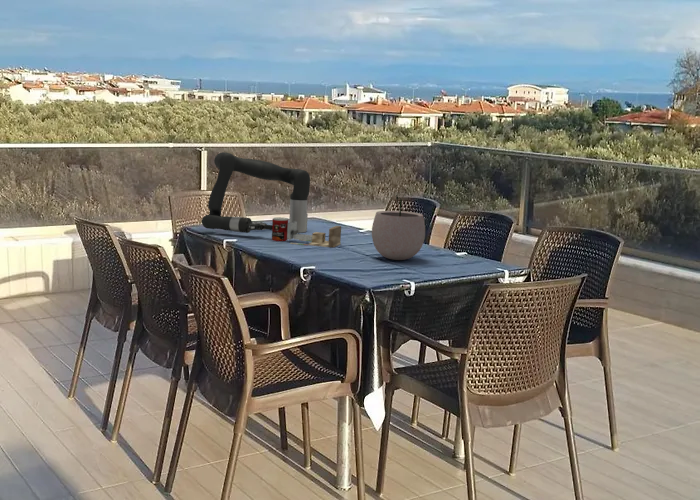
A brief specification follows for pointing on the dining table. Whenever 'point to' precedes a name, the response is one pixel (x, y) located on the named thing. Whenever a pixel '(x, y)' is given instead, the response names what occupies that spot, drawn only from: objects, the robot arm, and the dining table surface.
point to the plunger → (293, 232)
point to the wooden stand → (319, 238)
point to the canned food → (279, 229)
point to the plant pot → (398, 233)
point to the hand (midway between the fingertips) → (272, 227)
